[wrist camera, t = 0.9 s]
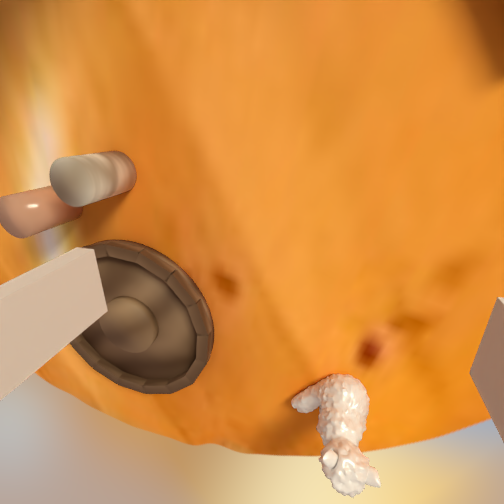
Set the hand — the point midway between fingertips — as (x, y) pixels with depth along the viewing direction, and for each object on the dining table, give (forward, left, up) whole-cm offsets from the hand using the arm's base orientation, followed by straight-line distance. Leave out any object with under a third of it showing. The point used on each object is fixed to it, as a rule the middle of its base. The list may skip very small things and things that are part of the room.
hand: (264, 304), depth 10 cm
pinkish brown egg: (-16, -26, -22) cm, 38 cm away
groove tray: (+1, -30, -22) cm, 37 cm away
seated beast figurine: (+23, -12, -22) cm, 34 cm away
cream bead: (-14, -17, -22) cm, 31 cm away
